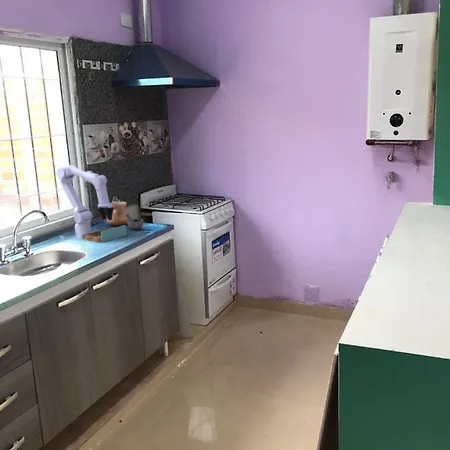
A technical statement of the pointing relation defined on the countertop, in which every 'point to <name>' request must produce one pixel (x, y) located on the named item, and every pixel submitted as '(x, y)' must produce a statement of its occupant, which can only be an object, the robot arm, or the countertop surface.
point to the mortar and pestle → (134, 222)
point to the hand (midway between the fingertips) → (107, 219)
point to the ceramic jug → (118, 214)
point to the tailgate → (113, 233)
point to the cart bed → (95, 236)
